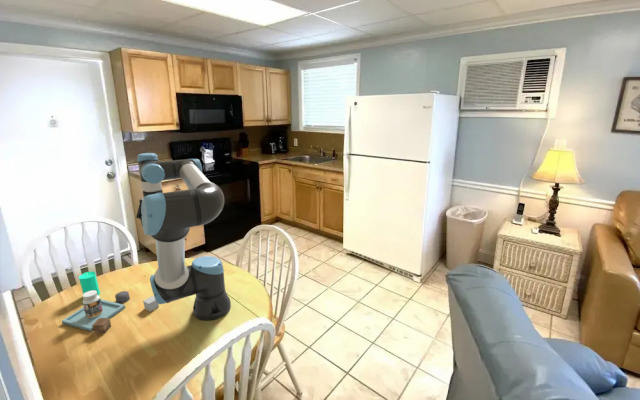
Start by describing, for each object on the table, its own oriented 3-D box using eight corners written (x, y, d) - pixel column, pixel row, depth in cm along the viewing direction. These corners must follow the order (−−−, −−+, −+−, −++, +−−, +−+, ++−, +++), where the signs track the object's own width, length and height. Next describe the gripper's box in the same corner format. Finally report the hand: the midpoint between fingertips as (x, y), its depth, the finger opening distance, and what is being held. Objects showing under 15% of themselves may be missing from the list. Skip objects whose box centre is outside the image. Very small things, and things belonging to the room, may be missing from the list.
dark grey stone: (132, 297, 139) (131, 292, 138) (122, 304, 134) (121, 298, 133) (123, 295, 140) (122, 290, 139) (113, 302, 135) (112, 296, 135)
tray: (125, 307, 132) (124, 304, 132) (91, 331, 118) (91, 328, 118) (98, 301, 136) (97, 298, 135) (62, 323, 122) (61, 320, 122)
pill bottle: (94, 319, 124) (89, 298, 121) (82, 317, 125) (77, 296, 122) (106, 310, 129) (101, 290, 126) (94, 309, 130) (89, 288, 127)
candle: (96, 290, 144) (90, 267, 140) (102, 294, 141) (97, 270, 137) (81, 296, 139) (75, 273, 135) (87, 301, 136) (81, 277, 132)
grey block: (159, 306, 133) (157, 299, 132) (150, 312, 130) (148, 303, 129) (153, 303, 135) (152, 295, 134) (144, 308, 132) (143, 300, 131)
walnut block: (111, 326, 121) (109, 317, 120) (105, 333, 118) (103, 325, 116) (100, 326, 121) (98, 318, 120) (94, 334, 117) (91, 325, 116)
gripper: (183, 189, 133) (188, 235, 139) (136, 184, 139) (143, 228, 146) (170, 194, 126) (177, 242, 133) (121, 189, 132) (130, 234, 139)
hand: (159, 235), depth 139 cm, fingers open, 13 cm apart
